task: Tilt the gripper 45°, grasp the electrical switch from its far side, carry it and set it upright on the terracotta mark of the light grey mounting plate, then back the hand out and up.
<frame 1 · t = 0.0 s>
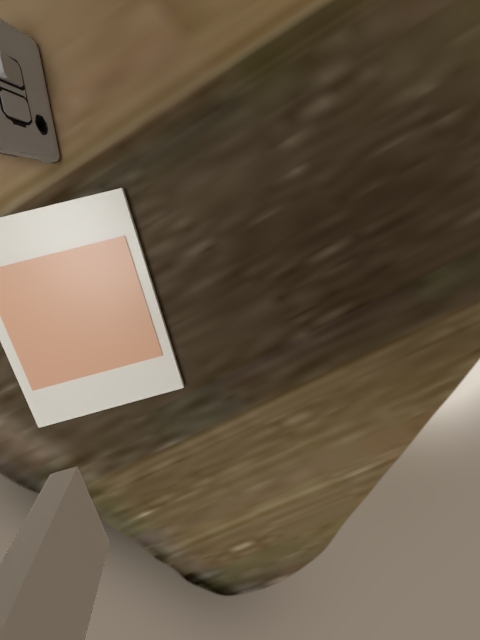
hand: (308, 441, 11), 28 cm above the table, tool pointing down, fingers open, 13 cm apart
mounting plate: (80, 313, 37), on the table
electrical switch: (19, 111, 33), on the table
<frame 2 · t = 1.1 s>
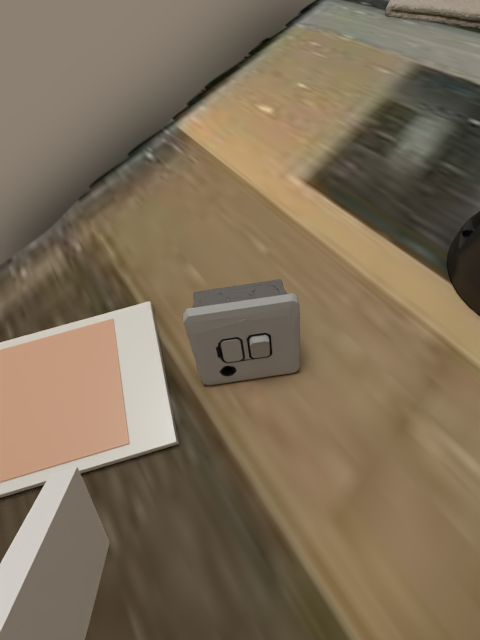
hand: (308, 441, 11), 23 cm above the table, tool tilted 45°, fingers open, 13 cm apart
mounting plate: (63, 397, 37), on the table
electrical switch: (245, 355, 38), on the table
washcloth: (441, 11, 67), on the table
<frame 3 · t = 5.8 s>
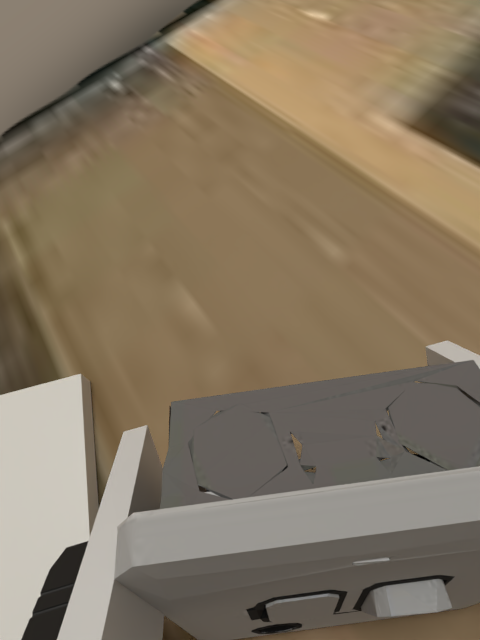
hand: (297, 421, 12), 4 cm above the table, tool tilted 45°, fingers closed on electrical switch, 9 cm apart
electrical switch: (313, 532, 14), on the table, touching gripper
when the fingers open (6 cm above the table, at t = 11.9 s): electrical switch drops 1 cm, resting on mounting plate.
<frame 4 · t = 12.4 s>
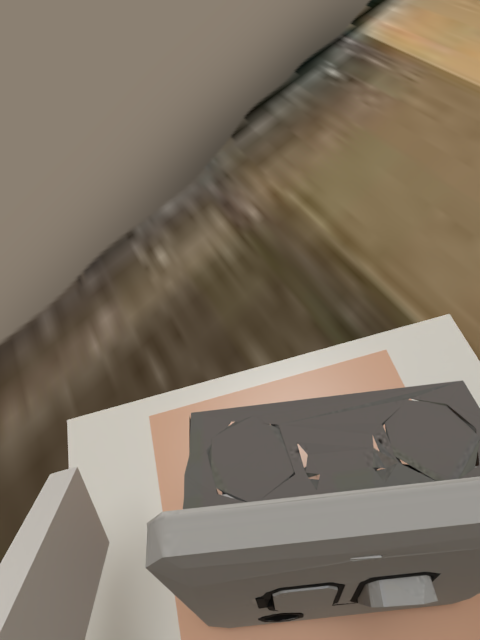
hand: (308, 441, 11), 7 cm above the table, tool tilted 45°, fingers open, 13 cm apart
mounting plate: (314, 530, 16), on the table
electrical switch: (315, 531, 16), point 1 cm above the table, touching mounting plate
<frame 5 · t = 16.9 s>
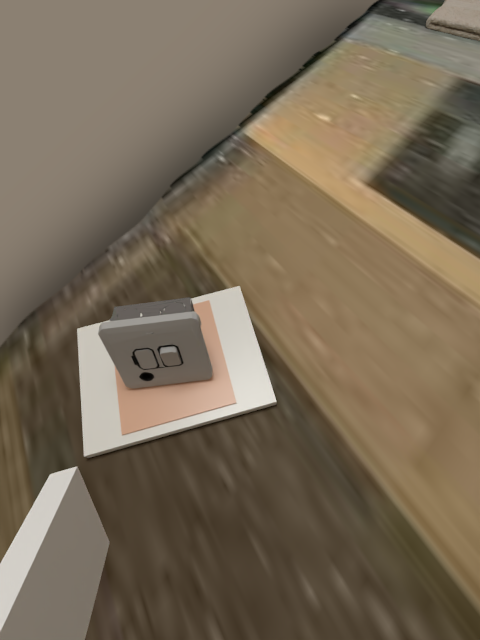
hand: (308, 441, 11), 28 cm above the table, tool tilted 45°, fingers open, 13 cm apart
mounting plate: (171, 366, 43), on the table
electrical switch: (169, 362, 42), point 1 cm above the table, touching mounting plate
washcloth: (479, 29, 73), on the table
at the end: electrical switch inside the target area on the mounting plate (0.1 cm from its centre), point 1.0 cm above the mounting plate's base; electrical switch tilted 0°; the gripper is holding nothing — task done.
